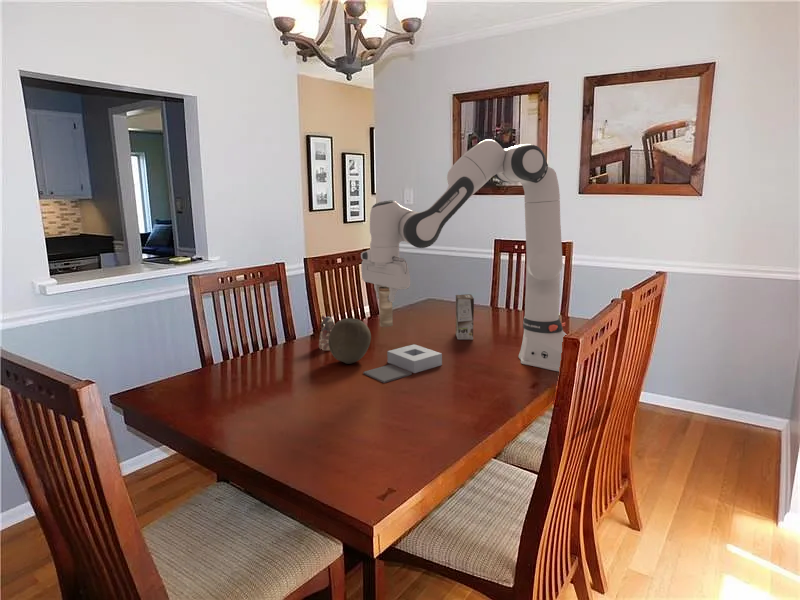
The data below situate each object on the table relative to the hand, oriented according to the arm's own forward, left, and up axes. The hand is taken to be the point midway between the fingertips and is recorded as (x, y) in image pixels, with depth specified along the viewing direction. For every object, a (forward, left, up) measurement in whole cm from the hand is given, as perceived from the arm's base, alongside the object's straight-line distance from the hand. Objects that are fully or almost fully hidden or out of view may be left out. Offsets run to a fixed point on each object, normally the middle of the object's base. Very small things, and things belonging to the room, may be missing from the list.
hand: (385, 299), depth 165 cm
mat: (0, 0, -24) cm, 24 cm away
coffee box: (+14, -49, -24) cm, 57 cm away
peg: (0, 0, -8) cm, 8 cm away
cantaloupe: (+18, +2, -24) cm, 30 cm away
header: (+2, -13, -24) cm, 28 cm away
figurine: (+37, -1, -24) cm, 44 cm away
